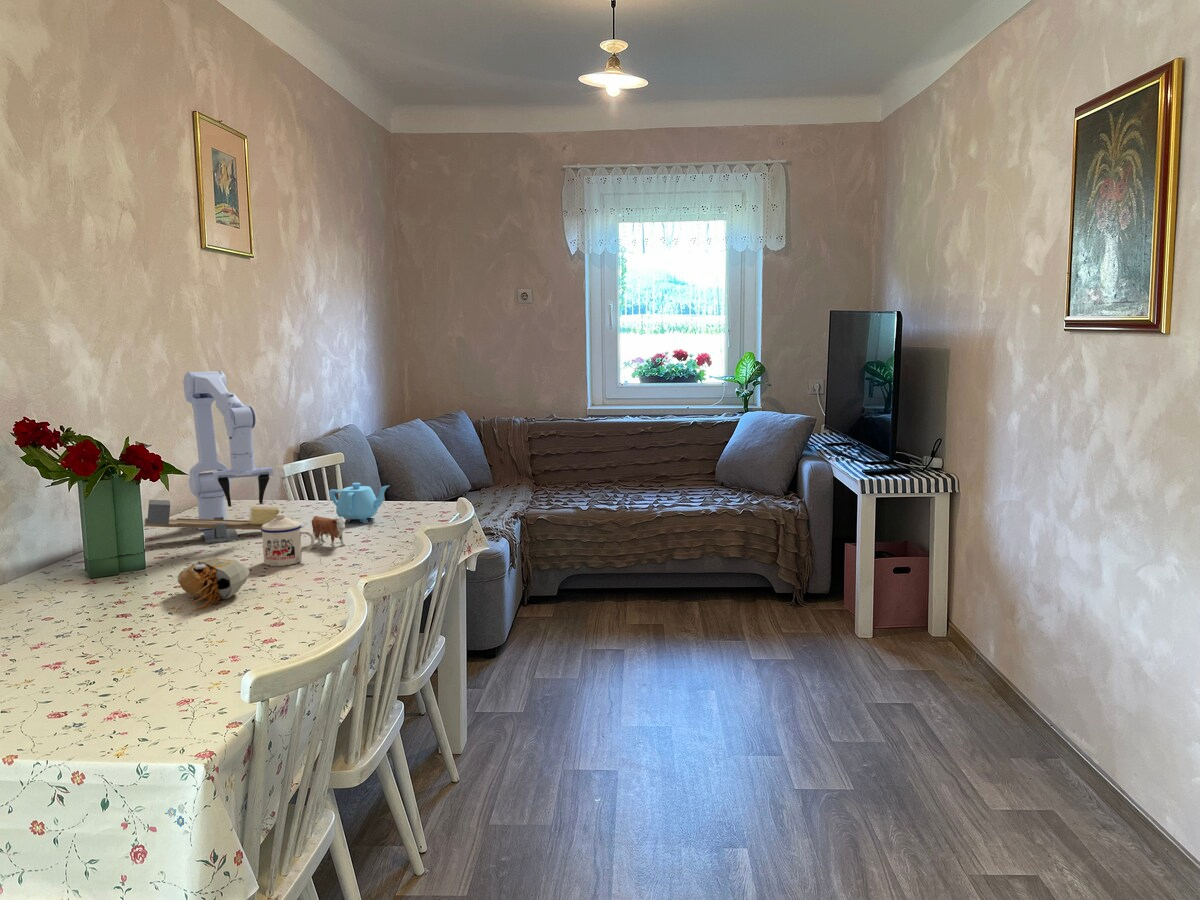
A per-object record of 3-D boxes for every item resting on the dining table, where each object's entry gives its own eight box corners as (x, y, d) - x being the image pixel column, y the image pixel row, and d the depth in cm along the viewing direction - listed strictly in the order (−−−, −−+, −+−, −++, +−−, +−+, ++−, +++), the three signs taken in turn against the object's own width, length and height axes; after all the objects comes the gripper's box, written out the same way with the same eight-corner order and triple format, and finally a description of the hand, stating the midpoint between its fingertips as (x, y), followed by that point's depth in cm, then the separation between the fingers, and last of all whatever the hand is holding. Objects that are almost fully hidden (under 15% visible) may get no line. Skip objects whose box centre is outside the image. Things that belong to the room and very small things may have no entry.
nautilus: (228, 617, 176) (150, 623, 176) (262, 580, 197) (193, 585, 197) (222, 579, 175) (143, 584, 174) (258, 545, 196) (188, 550, 195)
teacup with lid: (259, 568, 211) (256, 519, 209) (266, 558, 220) (263, 511, 218) (313, 565, 213) (310, 516, 211) (317, 555, 222) (315, 509, 220)
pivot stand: (203, 534, 246) (202, 518, 246) (234, 531, 250) (233, 515, 249) (205, 543, 235) (204, 526, 235) (238, 540, 239) (237, 523, 238)
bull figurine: (341, 550, 226) (339, 519, 225) (309, 543, 234) (307, 513, 233) (355, 547, 230) (353, 516, 229) (323, 540, 238) (321, 510, 237)
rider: (249, 522, 247) (250, 506, 247) (275, 523, 250) (277, 507, 250) (250, 525, 244) (251, 509, 243) (277, 526, 247) (279, 510, 247)
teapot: (329, 521, 264) (325, 483, 262) (374, 512, 273) (371, 476, 271) (346, 528, 254) (343, 490, 252) (393, 519, 263) (390, 481, 261)
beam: (145, 521, 237) (146, 499, 237) (287, 525, 254) (289, 505, 253) (144, 526, 231) (146, 504, 230) (291, 530, 247) (293, 509, 246)
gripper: (212, 457, 228) (216, 509, 230) (273, 453, 234) (276, 504, 236) (211, 453, 234) (214, 505, 236) (270, 449, 240) (273, 500, 242)
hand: (245, 504), depth 236 cm, fingers open, 7 cm apart
